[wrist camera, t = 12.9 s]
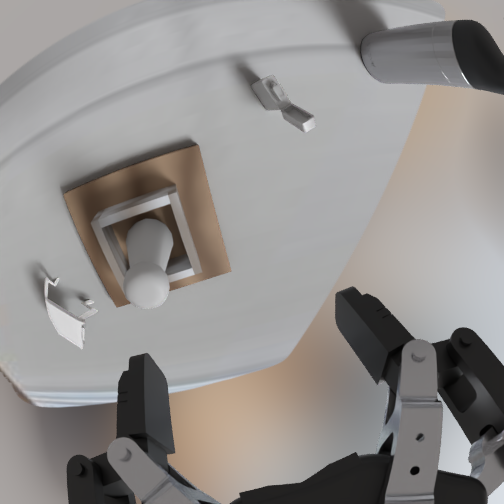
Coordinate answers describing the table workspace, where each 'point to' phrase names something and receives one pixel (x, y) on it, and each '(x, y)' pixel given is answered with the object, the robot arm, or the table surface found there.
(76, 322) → the white bent open piece
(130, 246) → the salt shaker
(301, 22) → the table surface
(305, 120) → the lighter
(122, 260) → the wooden base with frame
